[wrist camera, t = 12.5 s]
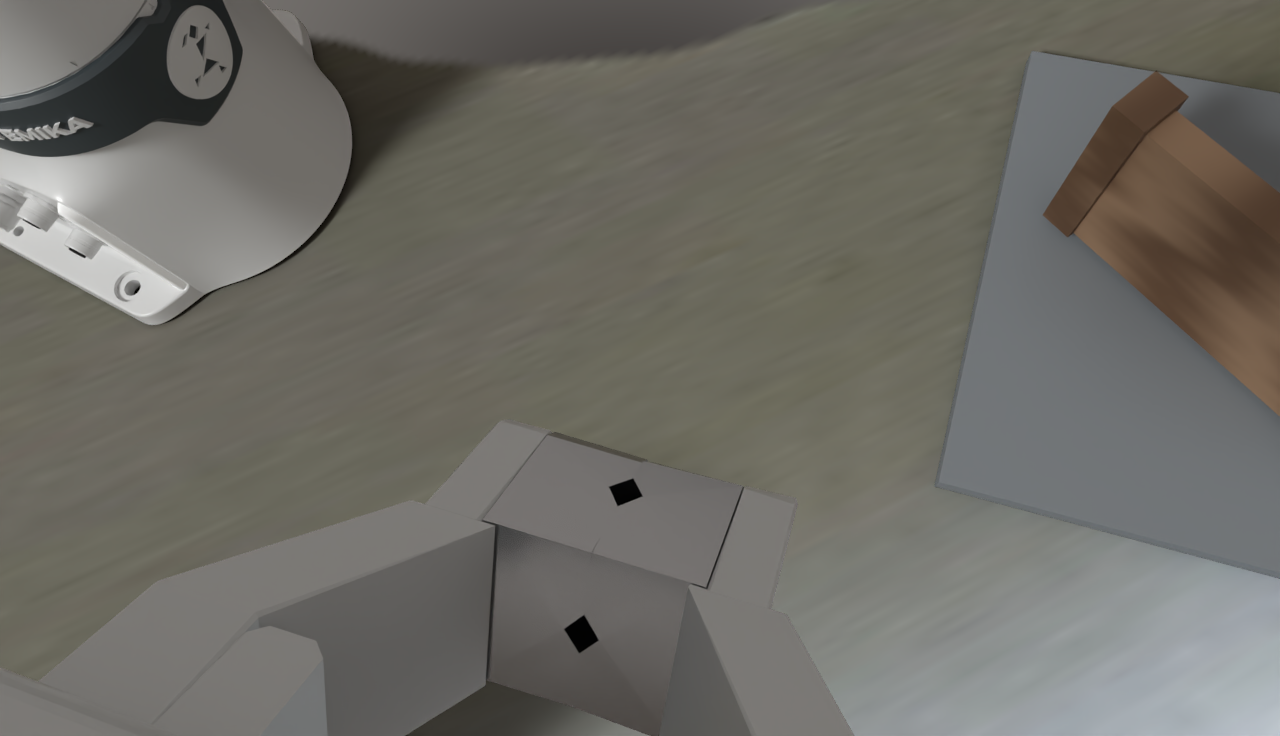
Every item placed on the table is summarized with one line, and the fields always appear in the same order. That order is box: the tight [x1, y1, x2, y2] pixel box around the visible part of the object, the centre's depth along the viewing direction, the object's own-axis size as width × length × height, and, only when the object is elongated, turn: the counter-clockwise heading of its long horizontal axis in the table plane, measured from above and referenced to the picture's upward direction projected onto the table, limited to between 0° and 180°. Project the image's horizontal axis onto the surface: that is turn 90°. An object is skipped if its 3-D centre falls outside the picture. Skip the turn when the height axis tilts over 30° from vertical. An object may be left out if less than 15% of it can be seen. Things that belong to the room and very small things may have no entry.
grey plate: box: [935, 51, 1280, 578], centre depth 41 cm, size 14×22×1 cm, turn 163°
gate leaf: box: [1043, 71, 1280, 416], centre depth 35 cm, size 15×2×8 cm, turn 38°
